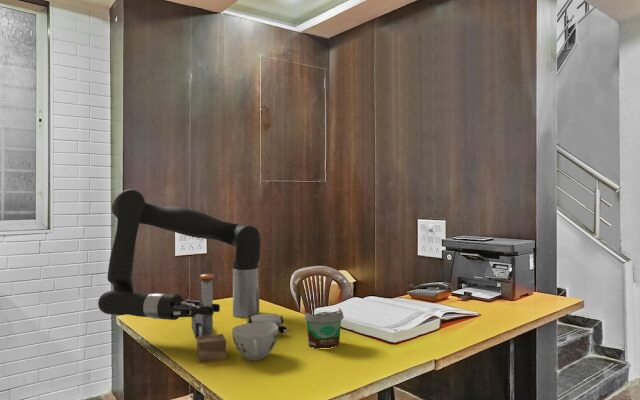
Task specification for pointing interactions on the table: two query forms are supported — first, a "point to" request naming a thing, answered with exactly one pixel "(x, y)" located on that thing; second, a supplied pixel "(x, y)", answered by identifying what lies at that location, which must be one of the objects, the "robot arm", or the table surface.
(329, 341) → the food container
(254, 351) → the teacup
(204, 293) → the tube
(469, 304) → the table surface
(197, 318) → the sleeve
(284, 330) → the robot toy
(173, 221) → the robot arm
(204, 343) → the socket
